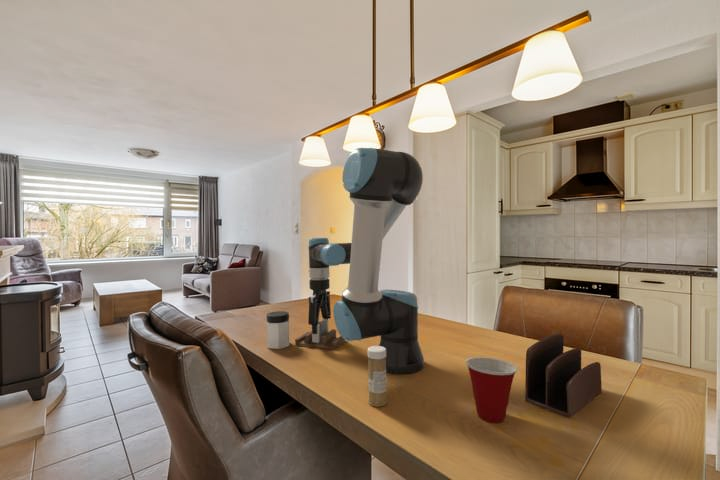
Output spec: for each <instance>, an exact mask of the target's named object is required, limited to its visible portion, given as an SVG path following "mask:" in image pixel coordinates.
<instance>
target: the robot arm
mask: <svg viewBox="0 0 720 480" xmlns="http://www.w3.org/2000/svg"><path fill="white" fill-rule="evenodd" d="M422 170H423V169H422V166H421V164H420V163H419V161H418V160H417V159H416V158H415V157H414V156H413V155H411V154H409V153H408V152H404V151H403V152H402V151H395V150H394V151H393V150H388V149H381V148H374V147H373V148H372V147H357V148H355V149H354V150H353V151H352V152H350V153H349V155H348V157H347V158H346V161H345V162H344V165H343V171H342V183H343V184H342V185H343V188H344V190H345V191H347V193H349V200H350V201H351V203H353V205H354V207H353V219H352V220H353V221H352V231H351V232H352V233H351V242H342V243H341V242H339V243H337V242H336V243H330V241H329V238H327V237H311V238H309V239H308V246H307V247H308V248H307V249H308V268H309V269H308V273H309V278H310V279H309V283H308V284H309V289H310V290H312V296H309V297H308V321H307V322H308V323H307V324H308V325H309V326H310V325H311V331H312V342H317V343H319V342H320V335H319V324H318V320H319V319H320V320H324V321H327V333H328V332H329V331H330V330H329V320H331V318H332V314H333V320H334V324H335V327H336V331H337V332H338V334H339V336H341V337H342V338H343V339H345V341H347V342H352V341H361V340H363V339H364V340H365V339H369V338H370V339H371V338H375V337H380V340H379V344H378V346H382V347H385V348H386V373H389V374H395V375H396V374H398V375H405V374H406V375H407V374H413V373H417V372H420V371H421V370H422V369H423V368H424V367H425V358H424V354H423V352H422V349H421V346H420V343H419V325H418V324H419V323H418V321H419V320H418V318H419V317H418V316H419V315H418V312H419V311H418V309H419V306H418V297H417V296H416V294H415V293H413V292H410V291H404V290H397V289H381V290H380V291H379V289H378V288H379V278H380V270H381V268H380V267H381V259H382V248H383V240H384V238H385V237H386V235H388V232H389V231H390V230H391V228H392V227H393V225H394V224H395V223H396V221H397V220H398V218H399V217H400V216H401V214H402V212H403V211H404V210H405V209H406V207H407V206H410V205H412V204H413V203H414V201H415V200H416V198H417V197H418V195H419V194H420V191H421V190H422V186H423V181H424V179H423V177H424V176H423V175H424V174H423V171H422ZM340 265H349V269H348V270H349V271H348V280H347V281H348V283H347V284H348V285H347V287H346V288H344V289H343V290H342V293H341V294H342V296H341V299H340V300H337V301H335V303H334V304H333V309H332V310H333V311H332V310H331V296H330V295H331V291H330V290H329V289H330V288H331V287H330V286H331V285H330V284H331V283H330V266H331V267H334V266H335V267H336V266H340ZM328 290H329V291H328ZM320 312H321V318H320Z"/></svg>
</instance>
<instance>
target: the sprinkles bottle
mask: <svg viewBox="0 0 720 480" xmlns="http://www.w3.org/2000/svg"><path fill="white" fill-rule="evenodd" d="M367 358H368V363H367V364H368V369H367V370H368V376H367V377H368V378H367V379H368V383H367V384H368V403H369V405H370V406H372V407H382V406H383V407H384V406H385V405H386V404H387V372H386V348H385V347H382V346H379V345H371V346H368V348H367Z"/></svg>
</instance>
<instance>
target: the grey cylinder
mask: <svg viewBox="0 0 720 480" xmlns="http://www.w3.org/2000/svg"><path fill="white" fill-rule="evenodd" d="M318 324H319V335H320V342H321V337H322V336H324V335H325V334H326V333H327V321H324V320H321V318H319V320H318Z"/></svg>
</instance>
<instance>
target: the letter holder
mask: <svg viewBox="0 0 720 480" xmlns="http://www.w3.org/2000/svg"><path fill="white" fill-rule="evenodd" d="M564 341H565V337H564V334H563V333H554V334H552V335H551V334H550V335H548V336H546V337H544V338H542V339H540V340H537V342H535V343H533V344H532V345H530V346H529V347H528V348H527V349H526V353H525V379H524V381H525V385H524V386H525V394H524V395H525V396H524V400H525V402H526V403H529V404H531V405H533V406H536V407H537V408H541V409H544V410H546V411H549V412H552V413H554V414H556V415H560V417H561V416H562V417H565V418H567V419H571V418H572V417H573V416H575V414H577V412H579V411H580V410H581V409H583V408H584V407H585V406H587V405H588V403H589V404H590V402H591V401H592V400H593V399H595V398H596V397H597V396H598V395H599V394H601V393H602V391H603V389H602V386H603V385H602V366H601V362H600V361H599V362H598V361H595V362H592V363H590V364H589V363H588V364H587V365H586V366H584V367H583V368H582V349H581V348H577V347H575V348H572V349H569V350H567V351H565V352H564V345H565V342H564Z"/></svg>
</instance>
